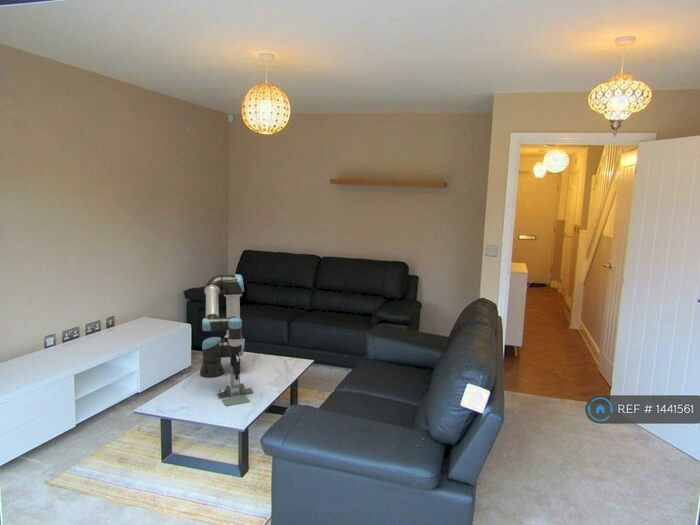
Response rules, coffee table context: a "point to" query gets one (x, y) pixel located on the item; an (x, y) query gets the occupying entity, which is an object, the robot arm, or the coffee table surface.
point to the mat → (235, 400)
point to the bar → (233, 377)
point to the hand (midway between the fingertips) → (235, 382)
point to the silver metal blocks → (227, 391)
